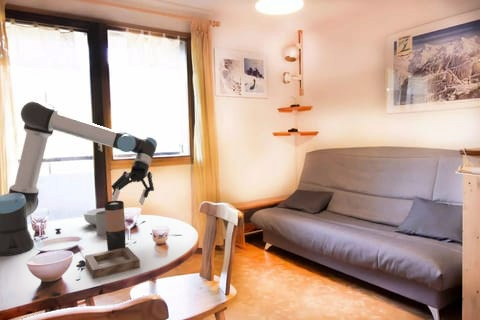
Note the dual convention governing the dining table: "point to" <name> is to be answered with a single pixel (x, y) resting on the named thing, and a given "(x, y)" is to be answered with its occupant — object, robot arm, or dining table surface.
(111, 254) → the walnut collar
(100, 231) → the cup
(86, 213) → the cereal bowl
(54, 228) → the dining table surface
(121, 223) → the travel mug
